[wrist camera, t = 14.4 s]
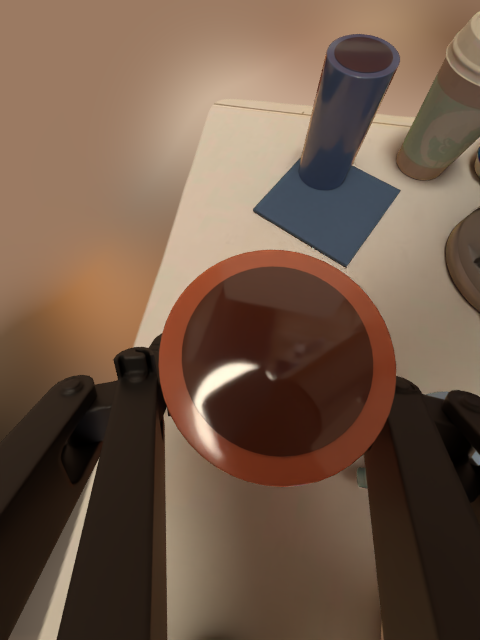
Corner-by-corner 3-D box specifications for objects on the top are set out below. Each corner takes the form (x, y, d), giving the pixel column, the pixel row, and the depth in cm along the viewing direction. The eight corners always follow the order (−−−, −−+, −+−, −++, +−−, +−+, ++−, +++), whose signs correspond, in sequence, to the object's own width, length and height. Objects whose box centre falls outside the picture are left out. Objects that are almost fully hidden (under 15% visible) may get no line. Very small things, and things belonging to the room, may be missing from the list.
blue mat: (398, 193, 30) (400, 190, 30) (345, 267, 27) (347, 265, 27) (311, 147, 33) (312, 144, 32) (252, 211, 30) (253, 208, 29)
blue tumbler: (355, 168, 31) (413, 49, 21) (330, 198, 30) (379, 87, 19) (314, 147, 32) (349, 24, 22) (288, 175, 31) (313, 58, 20)
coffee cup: (380, 179, 31) (460, 49, 20) (390, 133, 34) (466, -5, 22) (451, 196, 30) (578, 71, 19) (455, 147, 33) (570, 11, 21)
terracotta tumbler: (315, 375, 17) (438, 328, 6) (264, 453, 15) (315, 560, 5) (245, 324, 18) (252, 214, 8) (191, 392, 17) (106, 372, 6)
